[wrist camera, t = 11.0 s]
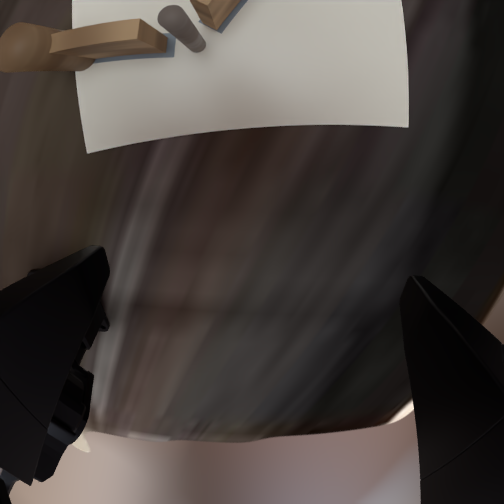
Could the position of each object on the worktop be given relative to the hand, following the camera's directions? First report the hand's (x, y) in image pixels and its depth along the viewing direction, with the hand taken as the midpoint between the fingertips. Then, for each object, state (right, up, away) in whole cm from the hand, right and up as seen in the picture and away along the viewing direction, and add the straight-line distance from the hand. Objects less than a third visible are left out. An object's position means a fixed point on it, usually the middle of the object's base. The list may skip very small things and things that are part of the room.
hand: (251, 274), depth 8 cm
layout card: (-1, +16, +5) cm, 16 cm away
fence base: (-7, +13, +6) cm, 16 cm away
